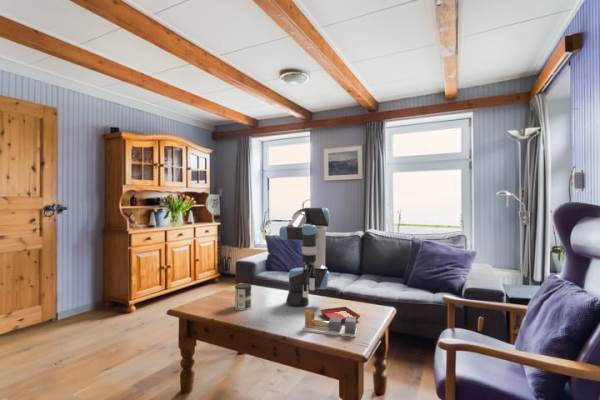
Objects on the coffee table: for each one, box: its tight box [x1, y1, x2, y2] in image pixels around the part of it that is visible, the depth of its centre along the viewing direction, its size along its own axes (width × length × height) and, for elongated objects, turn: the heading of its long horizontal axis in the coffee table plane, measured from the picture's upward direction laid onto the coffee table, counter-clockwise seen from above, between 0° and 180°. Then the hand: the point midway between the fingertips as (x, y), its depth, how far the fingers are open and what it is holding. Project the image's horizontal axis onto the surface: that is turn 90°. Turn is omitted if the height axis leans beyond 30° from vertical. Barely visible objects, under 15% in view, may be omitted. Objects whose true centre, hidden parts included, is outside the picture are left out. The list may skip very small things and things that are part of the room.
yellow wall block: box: [304, 308, 329, 328], centre depth 167 cm, size 18×4×8 cm, turn 74°
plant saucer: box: [319, 306, 361, 323], centre depth 184 cm, size 18×18×3 cm
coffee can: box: [234, 283, 252, 311], centre depth 201 cm, size 10×10×14 cm
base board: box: [302, 325, 358, 338], centre depth 166 cm, size 10×28×1 cm, turn 74°
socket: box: [344, 316, 357, 334], centre depth 163 cm, size 7×5×6 cm
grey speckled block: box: [328, 317, 343, 332], centre depth 165 cm, size 6×6×5 cm
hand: (308, 293), depth 168 cm, fingers open, 13 cm apart
